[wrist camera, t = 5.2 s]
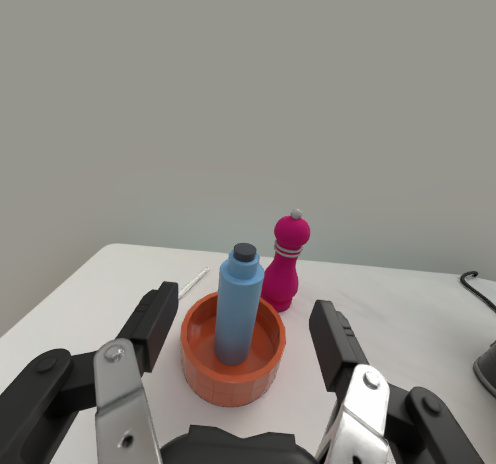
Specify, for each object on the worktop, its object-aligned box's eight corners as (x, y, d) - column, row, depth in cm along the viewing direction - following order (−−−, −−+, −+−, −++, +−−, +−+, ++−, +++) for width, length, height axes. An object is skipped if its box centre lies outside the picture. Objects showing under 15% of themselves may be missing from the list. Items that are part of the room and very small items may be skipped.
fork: (214, 272, 48) (214, 266, 47) (143, 344, 31) (142, 336, 31) (202, 267, 49) (202, 261, 48) (127, 335, 32) (126, 327, 32)
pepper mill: (261, 284, 47) (277, 198, 37) (293, 292, 46) (318, 206, 36) (254, 308, 40) (272, 212, 31) (292, 318, 39) (322, 222, 30)
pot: (232, 300, 41) (234, 278, 39) (296, 351, 33) (304, 328, 31) (162, 348, 31) (159, 323, 29) (229, 440, 23) (234, 416, 21)
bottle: (232, 326, 35) (244, 232, 27) (256, 348, 32) (277, 251, 24) (206, 347, 32) (211, 246, 23) (231, 374, 29) (246, 269, 20)
